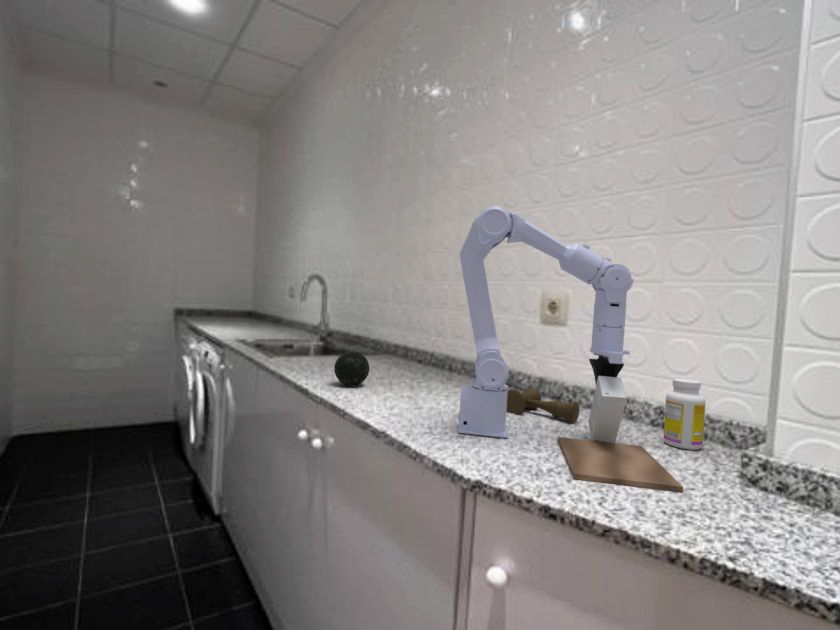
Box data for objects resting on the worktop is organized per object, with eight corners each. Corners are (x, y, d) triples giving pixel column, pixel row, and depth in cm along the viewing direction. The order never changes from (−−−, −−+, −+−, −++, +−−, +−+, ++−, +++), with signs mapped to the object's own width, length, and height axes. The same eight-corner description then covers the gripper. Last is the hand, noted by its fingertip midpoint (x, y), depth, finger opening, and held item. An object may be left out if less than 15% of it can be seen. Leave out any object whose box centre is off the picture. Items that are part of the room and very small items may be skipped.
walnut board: (573, 478, 66) (574, 473, 66) (557, 441, 84) (557, 436, 84) (682, 492, 63) (683, 486, 63) (640, 450, 82) (641, 445, 82)
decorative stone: (327, 386, 123) (329, 351, 123) (342, 381, 133) (344, 348, 133) (360, 390, 121) (362, 354, 120) (373, 384, 130) (375, 351, 130)
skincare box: (615, 446, 83) (627, 398, 77) (591, 443, 84) (601, 396, 77) (610, 423, 88) (621, 376, 82) (587, 421, 89) (597, 374, 82)
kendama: (565, 429, 95) (489, 408, 109) (583, 423, 102) (509, 404, 116) (568, 402, 95) (491, 384, 108) (586, 398, 102) (511, 381, 115)
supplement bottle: (699, 444, 88) (704, 380, 87) (705, 453, 82) (710, 385, 81) (661, 437, 91) (666, 376, 90) (664, 446, 85) (669, 380, 84)
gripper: (642, 330, 77) (637, 406, 78) (620, 326, 91) (615, 391, 92) (600, 327, 78) (595, 402, 79) (584, 324, 93) (580, 387, 93)
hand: (603, 396), depth 85 cm, fingers closed
